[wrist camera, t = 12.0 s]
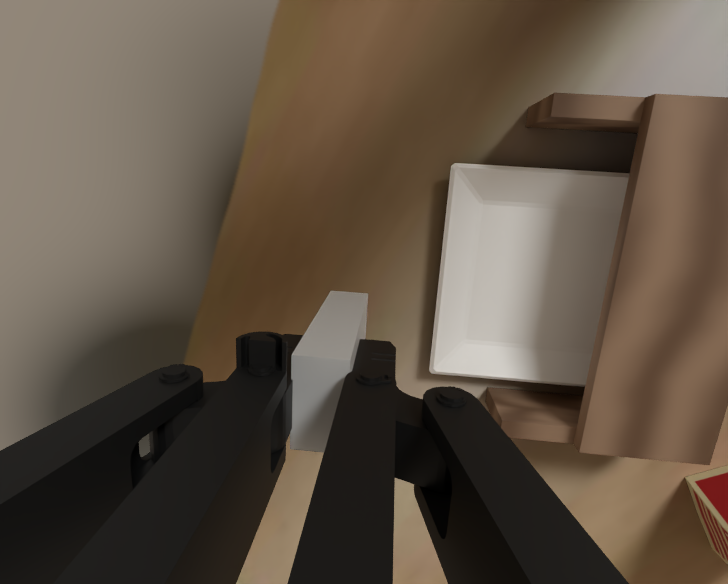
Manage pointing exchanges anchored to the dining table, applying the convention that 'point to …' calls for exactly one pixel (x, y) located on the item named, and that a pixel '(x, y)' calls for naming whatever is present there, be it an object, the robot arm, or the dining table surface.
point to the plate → (524, 271)
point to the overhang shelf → (649, 290)
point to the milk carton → (712, 506)
